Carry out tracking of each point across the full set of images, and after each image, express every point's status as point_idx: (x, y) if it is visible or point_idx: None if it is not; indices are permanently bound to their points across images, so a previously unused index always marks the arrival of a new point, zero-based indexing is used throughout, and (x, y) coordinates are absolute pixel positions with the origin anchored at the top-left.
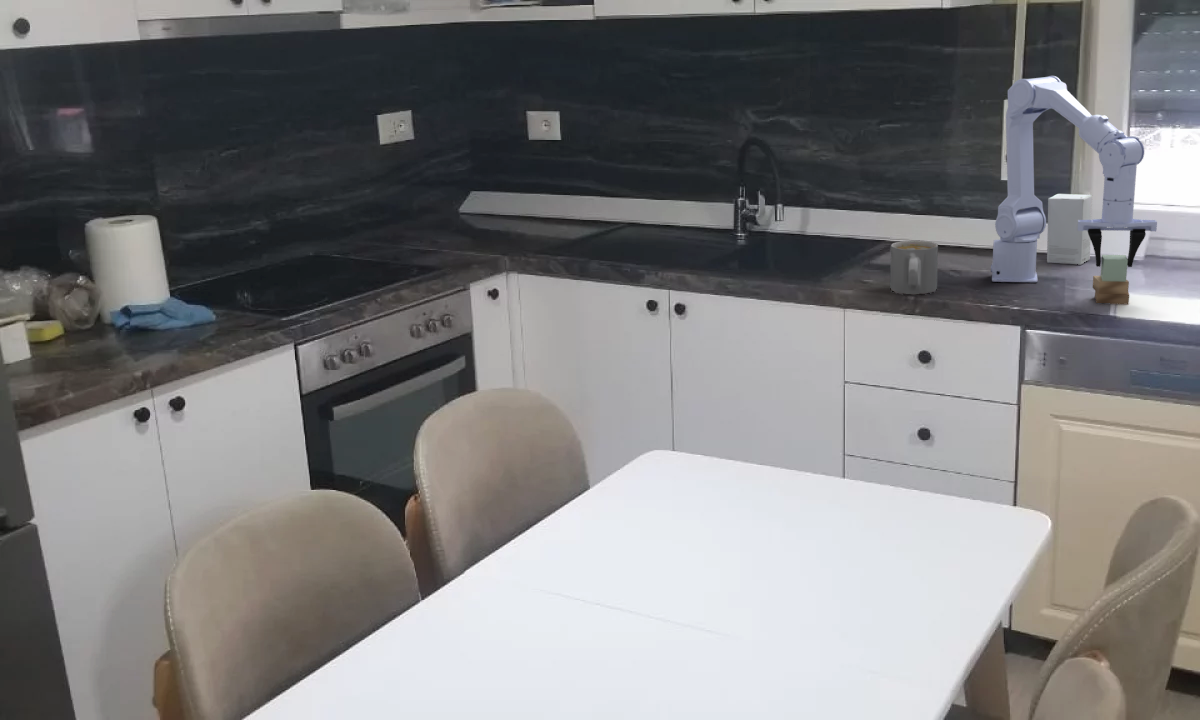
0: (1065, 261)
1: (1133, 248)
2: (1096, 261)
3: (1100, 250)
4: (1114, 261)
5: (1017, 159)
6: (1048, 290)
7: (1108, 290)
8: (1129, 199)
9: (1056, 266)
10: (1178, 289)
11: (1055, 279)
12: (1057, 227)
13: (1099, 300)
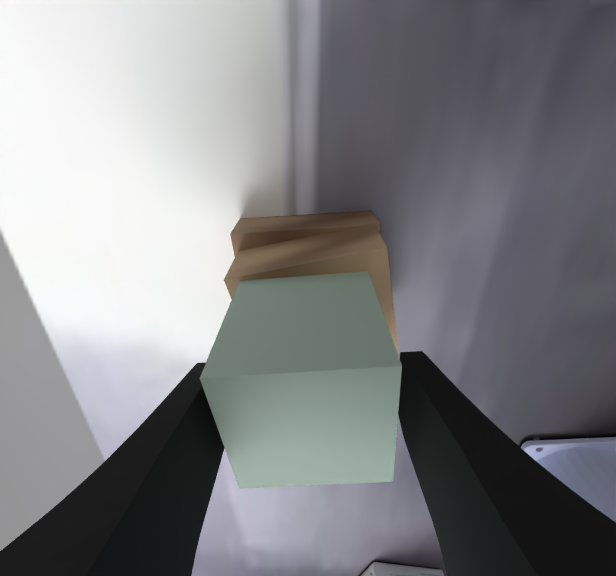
0: (407, 571)
1: (107, 496)
2: (442, 379)
3: (467, 457)
4: (309, 359)
5: None
6: (512, 372)
7: (328, 240)
8: None
9: (427, 551)
10: (122, 426)
11: None
12: None
13: (361, 215)
